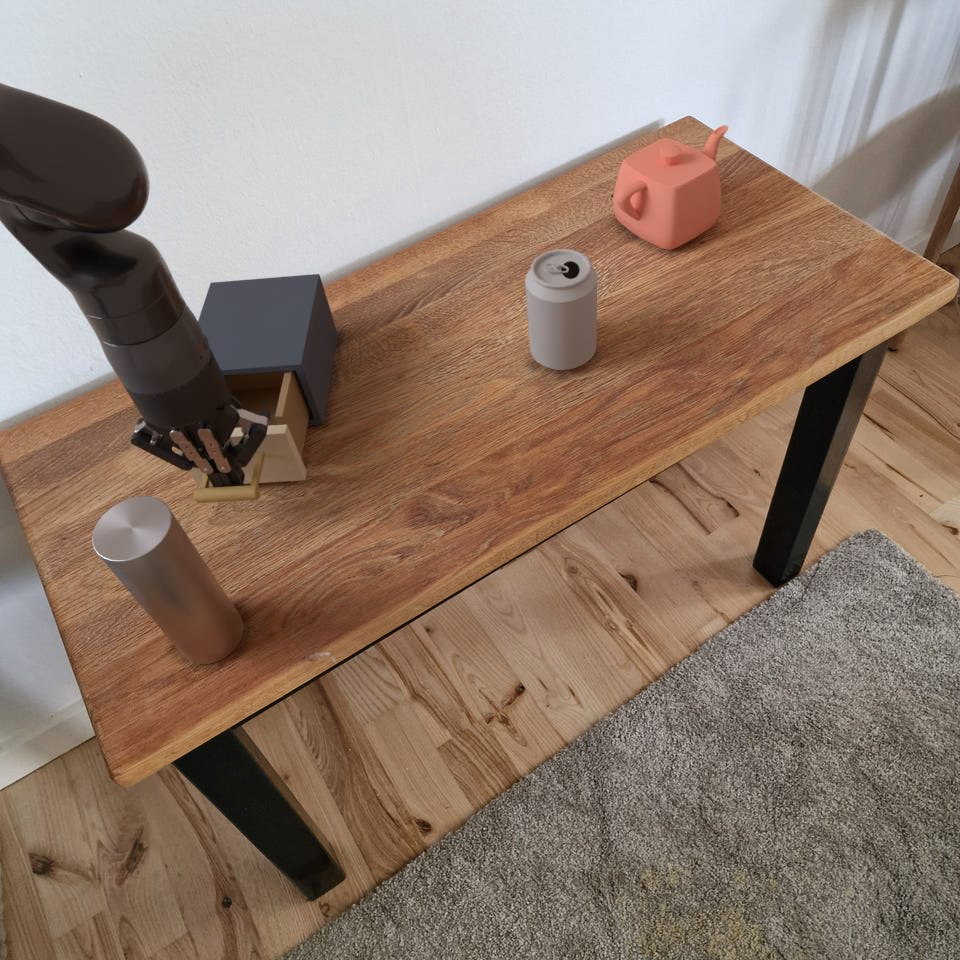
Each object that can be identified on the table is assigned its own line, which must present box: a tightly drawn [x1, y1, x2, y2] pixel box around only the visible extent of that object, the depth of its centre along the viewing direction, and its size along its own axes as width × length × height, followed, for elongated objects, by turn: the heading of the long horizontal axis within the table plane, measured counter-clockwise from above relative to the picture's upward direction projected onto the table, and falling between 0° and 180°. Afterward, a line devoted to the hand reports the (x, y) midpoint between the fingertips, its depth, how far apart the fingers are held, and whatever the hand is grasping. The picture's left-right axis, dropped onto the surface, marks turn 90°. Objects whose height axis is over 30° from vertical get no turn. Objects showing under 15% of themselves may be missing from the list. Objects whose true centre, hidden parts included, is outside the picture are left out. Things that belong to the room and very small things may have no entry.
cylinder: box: [91, 495, 245, 665], centre depth 69 cm, size 6×6×17 cm
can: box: [524, 248, 598, 371], centre depth 89 cm, size 8×8×12 cm
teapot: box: [612, 124, 729, 251], centre depth 103 cm, size 12×18×10 cm, turn 126°
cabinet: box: [197, 273, 339, 427], centre depth 92 cm, size 15×13×9 cm
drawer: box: [174, 370, 310, 504], centre depth 85 cm, size 19×11×7 cm, turn 0°
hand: (233, 487), depth 81 cm, fingers closed
